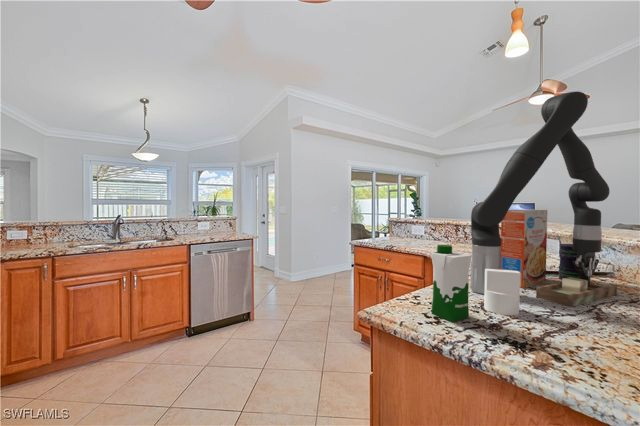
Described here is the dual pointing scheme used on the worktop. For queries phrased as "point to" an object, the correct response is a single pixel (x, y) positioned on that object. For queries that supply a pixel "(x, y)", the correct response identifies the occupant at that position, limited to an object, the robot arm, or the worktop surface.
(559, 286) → the trap track
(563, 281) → the maple block
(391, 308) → the worktop surface
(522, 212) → the orange cereal box
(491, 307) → the base with upright slab
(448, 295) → the milk carton
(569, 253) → the storage jar
